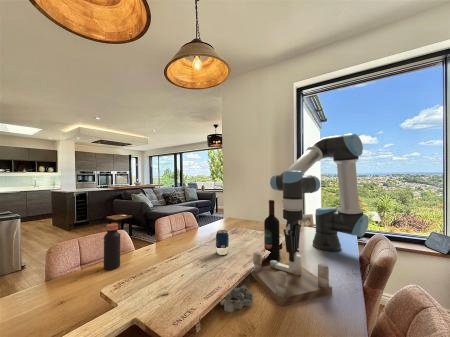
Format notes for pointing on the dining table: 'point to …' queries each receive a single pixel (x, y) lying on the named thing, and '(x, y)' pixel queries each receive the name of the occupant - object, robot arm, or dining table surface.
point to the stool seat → (291, 282)
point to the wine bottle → (272, 234)
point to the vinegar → (112, 247)
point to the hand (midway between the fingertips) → (292, 268)
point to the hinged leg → (287, 266)
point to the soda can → (222, 239)
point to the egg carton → (240, 302)
